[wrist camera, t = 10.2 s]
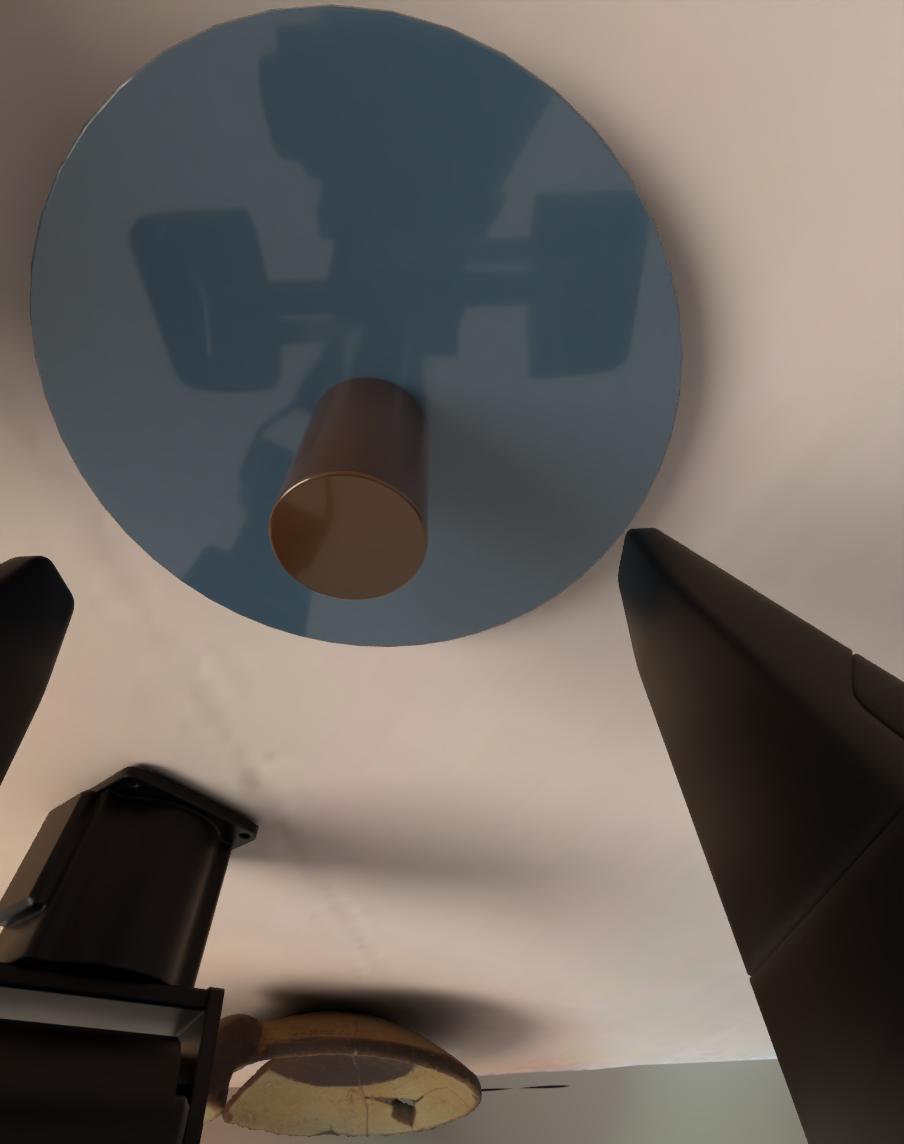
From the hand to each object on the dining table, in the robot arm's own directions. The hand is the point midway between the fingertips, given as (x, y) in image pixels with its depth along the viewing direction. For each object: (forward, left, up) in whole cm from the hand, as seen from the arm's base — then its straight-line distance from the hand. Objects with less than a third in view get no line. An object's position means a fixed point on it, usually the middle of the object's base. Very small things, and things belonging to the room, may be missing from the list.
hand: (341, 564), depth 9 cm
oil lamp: (-35, +36, -6) cm, 50 cm away
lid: (0, 0, -5) cm, 5 cm away
